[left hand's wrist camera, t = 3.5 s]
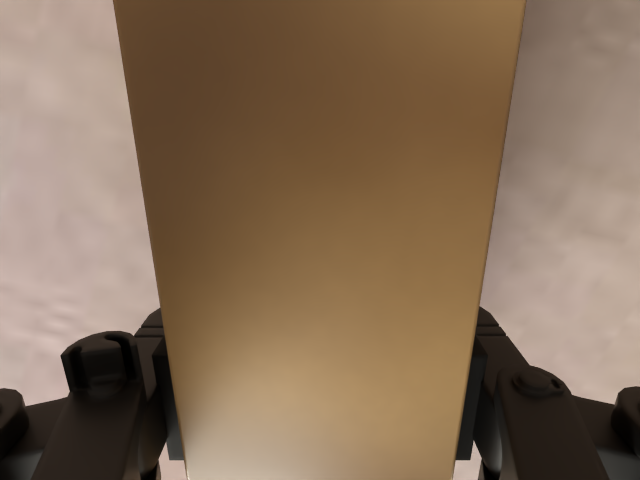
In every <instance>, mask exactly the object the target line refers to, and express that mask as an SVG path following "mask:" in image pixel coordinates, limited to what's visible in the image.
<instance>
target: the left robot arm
mask: <svg viewBox="0 0 640 480" xmlns="http://www.w3.org/2000/svg"><path fill="white" fill-rule="evenodd" d="M61 359H62V363H63V367H64V371H65V375H66V378H67V382H68V386H69V390H70V392H69V395H68V397H65V398H62V399H58V400H54V401H49V402H44V403H40V404H35V405H30V406H25V403H24V400H23V397H22V395H21V394H20V393H19V392H18V391H16V390H13V389H6V388H3V389H0V480H161V472H160V465H159V460H158V459H159V457H160V454H161V452H162V450H163V447H164V445H165V443H167V448H168V454H169V460H184V456H183V450H182V443H181V437H180V430H179V424H178V417H177V411H176V404H175V398H174V391H173V385H172V378H171V372H170V366H169V359H168V353H167V346H166V340H165V333H164V327H163V320H162V314H161V307H160V308H159V309H157V310H156V311H154V312H153V313H151V314H150V315H149V316H148V317H147V319H146V320H145V321H144V323H143V324H142V325H141V328H139V329H138V331H137V332H136V333H135V335H134V336H133V335H132V334H130V333H127V332H123V331H106V332H102V333H97V334H93V335H90V336H88V337H85V338H83V339H80V340H78V341H77V342H75V343H74V344H72V345H70V346H69V347H67V349H66V350H65V351H64V352H63V353H62V354H61ZM473 441H475V444H476V446H477V448H478V451H479V453H480V455H481V457H482V460H481V465H480V471H479V476H478V480H640V387H637V386H635V387H628V388H624V389H623V390H622V391H620V392H619V393H618V396H617V399H616V402H615V405H614V404H609V403H604V402H599V401H595V400H590V399H585V398H581V397H577V396H574V395H572V394H571V392H570V390H569V389H568V387H567V386H566V385H565V383H564V382H563V381H561V380H560V379H559V378H557V377H556V376H555V375H553V374H552V373H550V372H547V371H545V370H543V369H541V368H538V367H534V366H530V365H529V364H528V363H527V361H526V360H525V359H524V357H523V356H522V355H521V353H520V352H519V351H518V349H517V348H516V347H515V345H514V344H513V343H512V341H511V340H510V339H509V337H508V336H506V333H505V332H504V331H503V329H502V328H501V327H499V324H498V323H497V321H496V320H495V319H494V317H493V316H492V315H491V313H489V312H488V311H486V310H485V309H483V308H482V307H480V306H479V311H478V318H477V324H476V330H475V337H474V343H473V350H472V356H471V363H470V369H469V376H468V382H467V389H466V395H465V402H464V408H463V415H462V421H461V428H460V434H459V441H458V447H457V454H456V460H470V458H471V453H472V447H473Z"/></svg>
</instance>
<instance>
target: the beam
mask: <svg viewBox="0 0 640 480" xmlns="http://www.w3.org/2000/svg"><path fill="white" fill-rule="evenodd" d="M113 3H114V10H115V16H116V23H117V29H118V36H119V42H120V49H121V55H122V62H123V68H124V75H125V81H126V87H127V94H128V100H129V107H130V113H131V120H132V126H133V133H134V139H135V146H136V152H137V159H138V165H139V172H140V178H141V184H142V191H143V197H144V204H145V210H146V217H147V223H148V230H149V236H150V243H151V249H152V256H153V262H154V269H155V275H156V281H157V288H158V294H159V301H160V307H161V314H162V320H163V327H164V333H165V340H166V346H167V353H168V359H169V366H170V372H171V378H172V385H173V391H174V398H175V404H176V411H177V417H178V424H179V430H180V437H181V443H182V450H183V456H184V463H185V469H186V475H187V480H453V473H454V467H455V460H456V454H457V447H458V441H459V434H460V428H461V421H462V415H463V408H464V402H465V395H466V389H467V382H468V376H469V369H470V363H471V356H472V350H473V343H474V337H475V330H476V324H477V318H478V311H479V305H480V298H481V292H482V285H483V279H484V272H485V266H486V259H487V253H488V246H489V240H490V233H491V227H492V220H493V214H494V207H495V201H496V194H497V188H498V181H499V175H500V168H501V162H502V156H503V149H504V143H505V136H506V130H507V123H508V117H509V110H510V104H511V97H512V91H513V84H514V78H515V71H516V65H517V58H518V52H519V45H520V39H521V32H522V26H523V19H524V13H525V6H526V0H113Z"/></svg>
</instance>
